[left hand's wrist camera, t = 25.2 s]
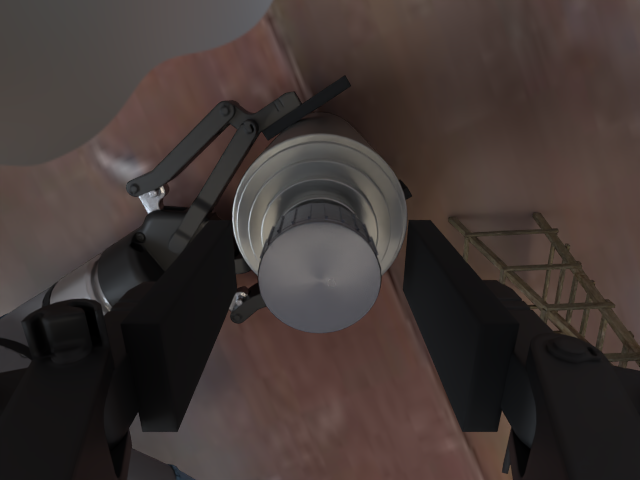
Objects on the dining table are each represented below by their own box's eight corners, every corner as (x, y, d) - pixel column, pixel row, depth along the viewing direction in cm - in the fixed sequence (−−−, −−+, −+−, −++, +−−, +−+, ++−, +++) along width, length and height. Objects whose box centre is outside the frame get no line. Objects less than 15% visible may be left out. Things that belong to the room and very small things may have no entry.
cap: (371, 196, 14) (380, 213, 11) (377, 298, 15) (385, 330, 13) (257, 206, 14) (246, 226, 12) (273, 306, 15) (265, 339, 13)
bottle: (347, 97, 33) (401, 109, 11) (376, 184, 35) (464, 331, 14) (260, 132, 34) (155, 203, 12) (294, 214, 36) (258, 394, 15)
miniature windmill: (448, 211, 36) (906, 638, 8) (541, 207, 36) (1348, 626, 8) (442, 299, 39) (754, 825, 11) (528, 295, 39) (1064, 818, 11)
